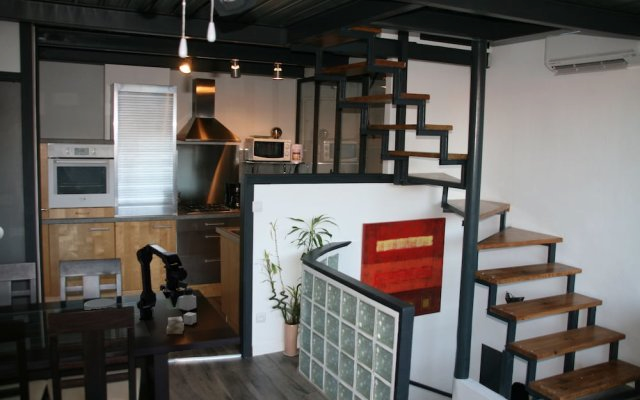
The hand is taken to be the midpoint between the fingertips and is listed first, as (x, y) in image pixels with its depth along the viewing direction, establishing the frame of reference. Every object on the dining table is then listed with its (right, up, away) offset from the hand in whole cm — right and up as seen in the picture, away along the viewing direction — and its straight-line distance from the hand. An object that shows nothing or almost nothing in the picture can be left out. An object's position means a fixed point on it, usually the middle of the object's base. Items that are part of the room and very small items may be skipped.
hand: (172, 306), depth 310 cm
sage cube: (0, -1, 0) cm, 1 cm away
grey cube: (+7, -12, +12) cm, 18 cm away
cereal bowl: (-47, -9, +23) cm, 53 cm away
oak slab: (+2, -13, -2) cm, 14 cm away
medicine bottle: (0, -8, +37) cm, 38 cm away
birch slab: (+2, -10, -2) cm, 10 cm away
